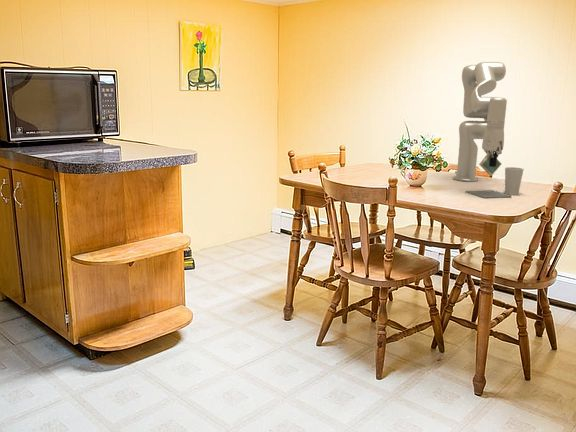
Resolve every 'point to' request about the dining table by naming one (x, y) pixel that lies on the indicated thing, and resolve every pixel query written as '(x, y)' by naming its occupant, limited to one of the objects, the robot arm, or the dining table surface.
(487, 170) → the tile
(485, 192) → the mat
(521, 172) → the cup
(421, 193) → the dining table surface
